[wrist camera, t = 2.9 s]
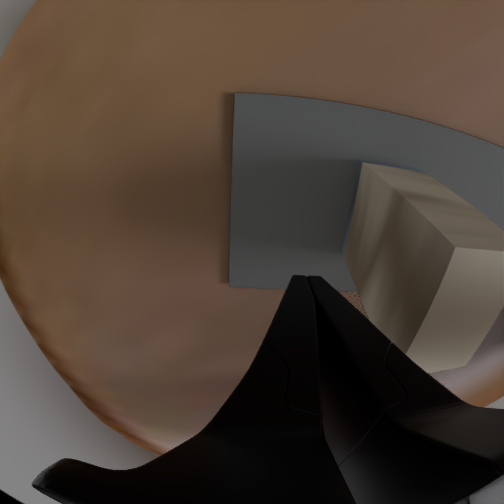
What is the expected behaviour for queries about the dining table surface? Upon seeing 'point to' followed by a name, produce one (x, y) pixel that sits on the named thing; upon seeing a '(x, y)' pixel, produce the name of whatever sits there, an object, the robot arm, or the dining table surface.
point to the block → (423, 264)
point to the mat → (331, 180)
